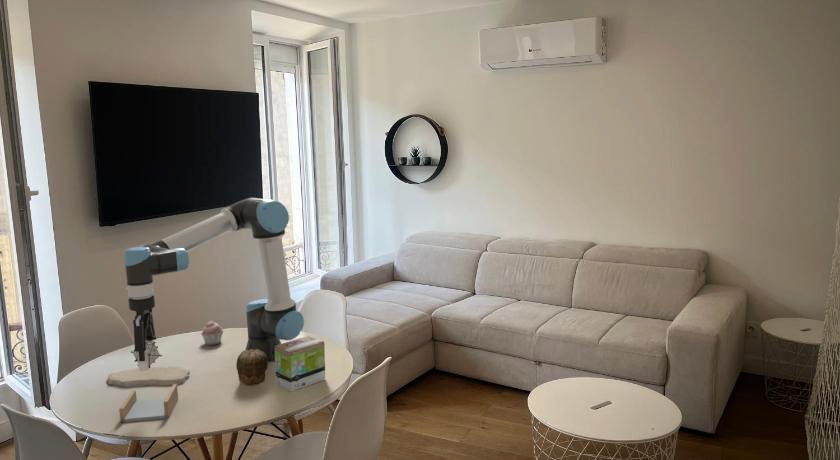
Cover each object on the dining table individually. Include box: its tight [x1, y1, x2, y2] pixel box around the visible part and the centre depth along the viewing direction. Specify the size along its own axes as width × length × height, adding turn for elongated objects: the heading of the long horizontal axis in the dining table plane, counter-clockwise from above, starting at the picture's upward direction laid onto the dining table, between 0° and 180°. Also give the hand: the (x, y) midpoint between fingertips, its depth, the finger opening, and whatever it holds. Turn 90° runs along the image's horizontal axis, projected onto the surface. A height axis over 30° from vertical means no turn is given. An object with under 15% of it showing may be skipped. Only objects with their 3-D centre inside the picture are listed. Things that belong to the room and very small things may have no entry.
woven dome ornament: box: [235, 349, 269, 386], centre depth 224 cm, size 11×11×12 cm
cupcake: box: [200, 320, 225, 346], centre depth 267 cm, size 9×9×10 cm
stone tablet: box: [107, 366, 191, 388], centre depth 231 cm, size 16×30×2 cm, turn 91°
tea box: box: [274, 335, 326, 393], centre depth 222 cm, size 15×10×15 cm
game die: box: [130, 341, 163, 368], centre depth 200 cm, size 9×8×10 cm
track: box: [118, 384, 179, 423], centre depth 203 cm, size 14×14×6 cm
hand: (147, 364), depth 201 cm, fingers closed on game die, 8 cm apart
